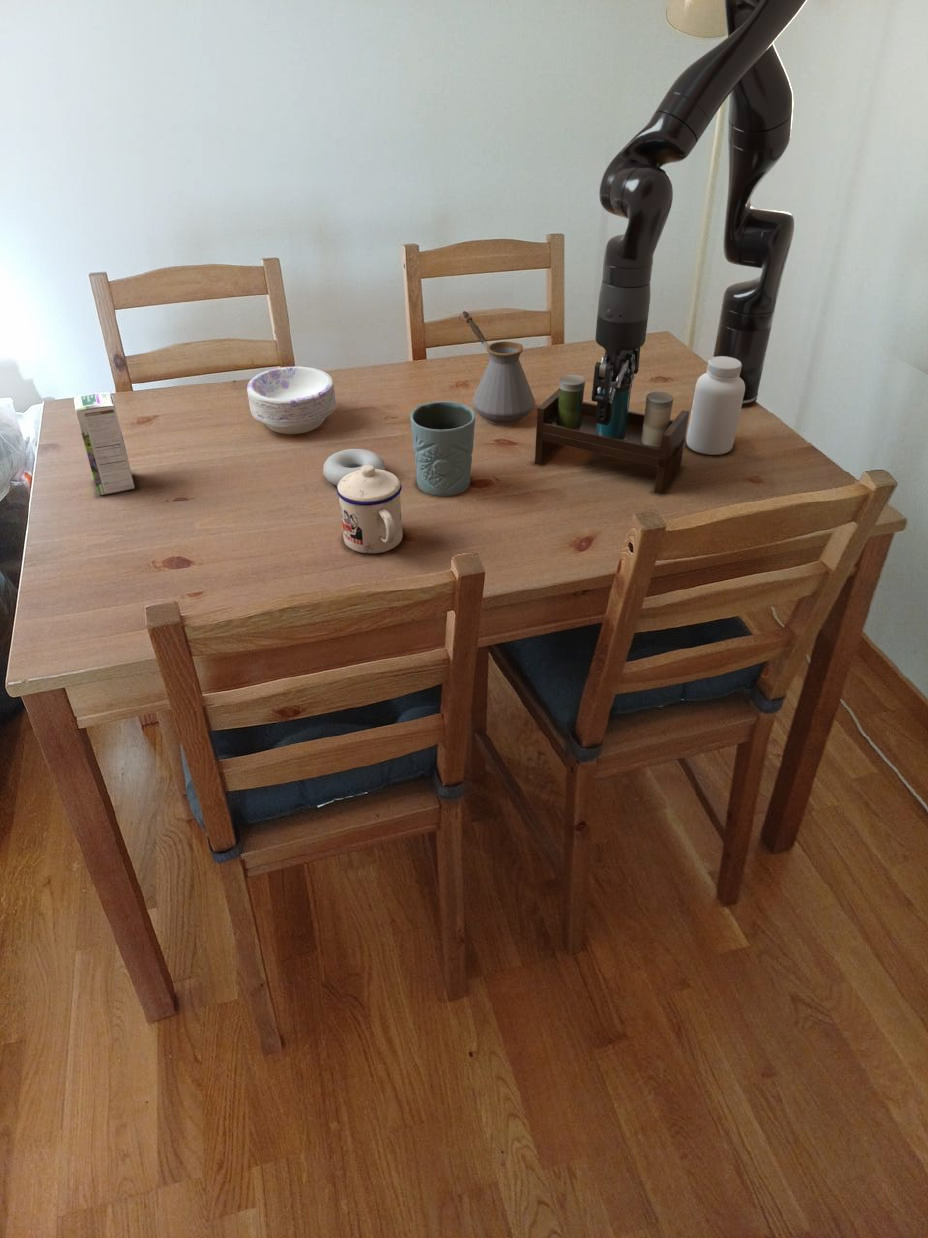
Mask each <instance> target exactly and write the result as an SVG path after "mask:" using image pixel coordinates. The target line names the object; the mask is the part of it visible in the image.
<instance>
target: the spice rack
mask: <svg viewBox="0 0 928 1238" xmlns="http://www.w3.org/2000/svg"><path fill="white" fill-rule="evenodd" d="M585 386H586V379H585V377H583V376H581V375H578V374H577V375H576V374H566V375H565V374H564V375H562V376H560V377H559V380H558V388H557V389H556V391H554V393H552V394H551V395H550V396H548V398H547V399H545V401H543V402H542V403H541V404H540V405H539V406H538V407H537V409H536V429H535V448H534V449H535V450H534V464H535V465H538V466H542V465H543V464H544V463H545V462H546V461H547V460H548V459H550V457H551V456H552V455H553V454H554V453H556V451H557V450H558V449H559V448H560V447H561V446H563V447H569V448H573V449H578V450H583V451H587V452H590V453H595V454H599V455H604V456H608V457H613V458H616V459H617V458H618V459H622V460H624V461H625V460H626V461H630V462H633V463H634V462H635V463H639V464H642V465H643V464H644V465H647V466H648V465H649V466H652V467H657V471H656V475H655V476H656V477H655V483H654V493H655V494H659V495H662V494H663V492H664V491H665V490H666V489H667V487H668V486H669V484H670V482H671V481H672V480H673V478H675V476H676V475H677V473H678V472H679V470H680V469H681V467H682V460H683V455H684V447H685V442H686V437H687V431H688V425H689V418H690V411H689V410H684V409H682V410H681V411H680V412H679V413H678V415H676V417H675V419H671V417H672V416H671V415H672V410H673V406H674V396H673V395H672V394H670V393H669V392H665V391H652V392H649V393H647V394H646V398H645V406H644V407H645V408H644V413H641V412H636V411H631V410H629V411H628V419H627V428H626V435H625V436H624V437H622V438H619V439H617V438H613V437H608V436H604V435H599V434H597V433H596V427H597V422H596V411H597V403H592V402H587V401H584V397H585V396H584V395H585V388H586V387H585Z"/></svg>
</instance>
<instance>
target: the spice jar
mask: <svg viewBox="0 0 928 1238" xmlns="http://www.w3.org/2000/svg"><path fill="white" fill-rule="evenodd" d="M611 382H615V381H614V380H611ZM632 388H633V381H632V379H631V378H630V377H628V376H626V375H625V376H623V379H622V382H621V385H620V388H619V389H618V390H616V391H615V394H614V398H613V401H612V412H611V421H610V423H609V424H608V425H602V424H598V423H597V427H596V433H597V434H599V435H604V436H608V437H613V438H617V439H619V438H622V437H624V436H625V435H626V428H627V419H628V411H630V410H629V409H630V401H631V394H632ZM610 390H611V389H610ZM604 393H605V389H603V392H602V394H604Z"/></svg>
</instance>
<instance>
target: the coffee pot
mask: <svg viewBox="0 0 928 1238" xmlns="http://www.w3.org/2000/svg"><path fill="white" fill-rule="evenodd" d="M462 315H463V317H464V318H462V319H460V317H461V316H462ZM457 317H458V321H465V322H466V324H468V325H469V326H470V329H471V331H472V332H473V334H474V335H475V336H476V338H477V339H478V340H479V341H480V343H481V344H482V345H483V347H484V348H485V349H486V351H487V353H488V354H489V361H488V363H487V365H486V367H485V370H484V372H483V375H482V377H481V379H480V381H479V384H478V385H477V388H476V390H475V392H474V394H473V398H472V399H471V402H472V406H473V408H474V412H475V413H477V414H478V415H479V416H480V417H481V418H482V419H483V420H484V421H485V422H487V423H490V424H493V425H499V426H501V425H502V426H509V425H515V424H517V423H520V422H522V421H523V420H524V419H525V418H526V417H527V416H528V415H529V414H531V412H533V409H534V408H535V404H536V400H535V396H534V394H533V392H532V389H531V387H530V384H529V381H528V379H527V376H526V374H525V371H524V369H523V366H522V364H521V363H522V362H521V361H520V356H521V354H522V353H523V352H524V347H523V344H522V343H519V342H515V341H514V342H513V341H495V342H492V343H488V342H487V338H485V336H484V334H483V333H482V331H481V329H480V327H479V326H478V325H477V324H476V323H475V322H474V321H473V317H471V316H470V312H468V311H465V310H463V311H462V312H461V313H460V314H459V315H458V316H457Z"/></svg>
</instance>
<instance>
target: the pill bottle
mask: <svg viewBox="0 0 928 1238" xmlns="http://www.w3.org/2000/svg"><path fill="white" fill-rule="evenodd" d="M741 367H742V364H741V362H740V361H739V360H737V359H735V358H731V357H725V356H718V357H713V356H712V357H711V358H710V359H709V360H708V362H707V367H706V372H704V373H703V374H702V375H700V376H699V377H698V378H697V381H696V382H695V383H696V384H695V388H694V393H693V398H692V405H691V410H690V411H691V412H690V415H689V420H688V426H687V432H686V439H685V442H686V445H687V447H688V448H689V449H691V450H692V451H694V452H696V453H699V454H702V455H709V456H720V455H725V454H727V453H730V451H731V450H732V449H733V447H734V443H735V440H736V439H735V438H736V434H737V430H738V425H739V420H740V415H741V412H742V411H741V410H742V407H743V406H742V402H743V397H744V392H745V384H744V381H743V380H742V379H741V378H740V377H739V376H740V372H741Z"/></svg>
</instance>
